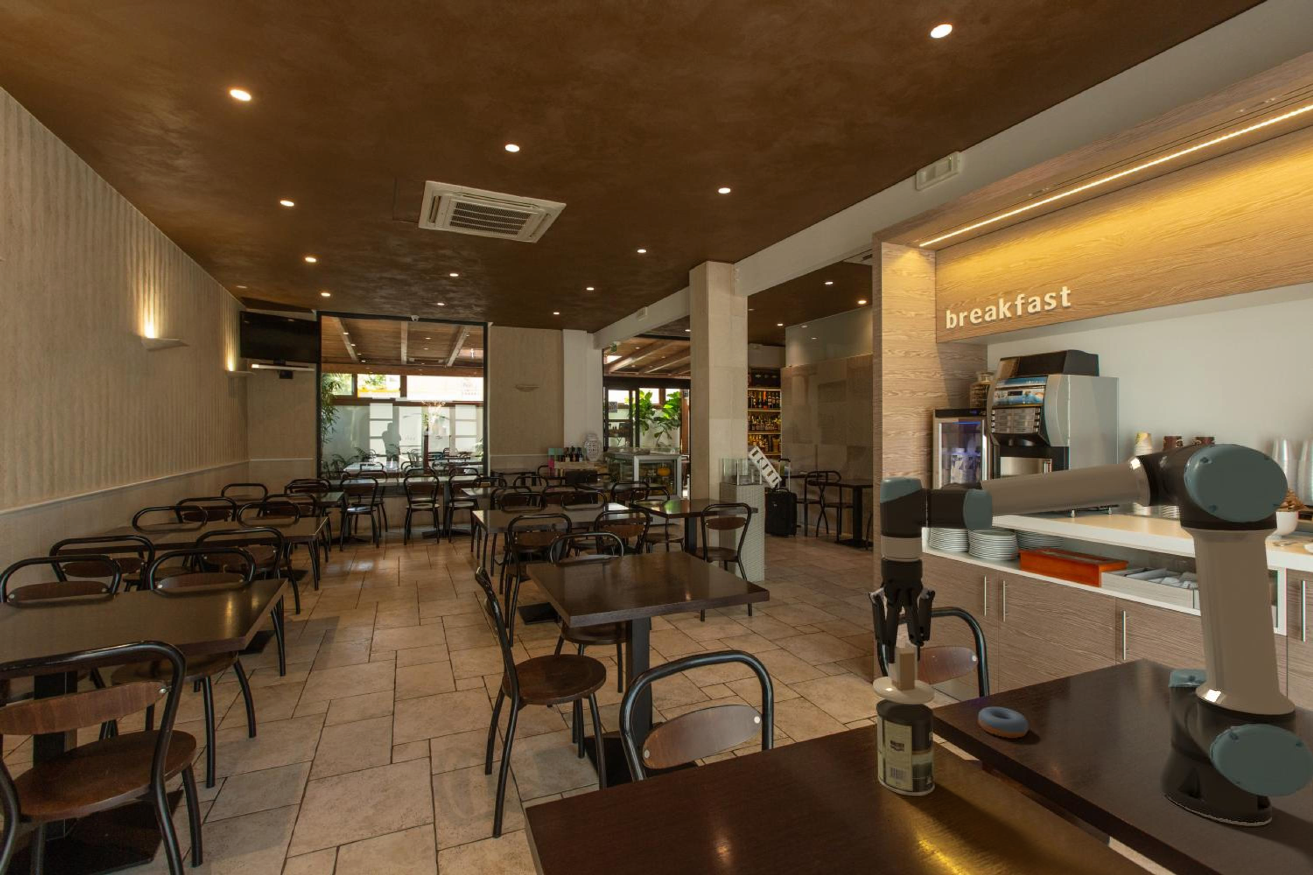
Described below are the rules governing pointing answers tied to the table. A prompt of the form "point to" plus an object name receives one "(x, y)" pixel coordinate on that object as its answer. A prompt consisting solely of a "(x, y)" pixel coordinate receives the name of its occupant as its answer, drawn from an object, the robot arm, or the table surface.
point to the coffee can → (905, 747)
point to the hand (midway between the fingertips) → (903, 678)
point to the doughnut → (1003, 722)
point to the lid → (904, 684)
